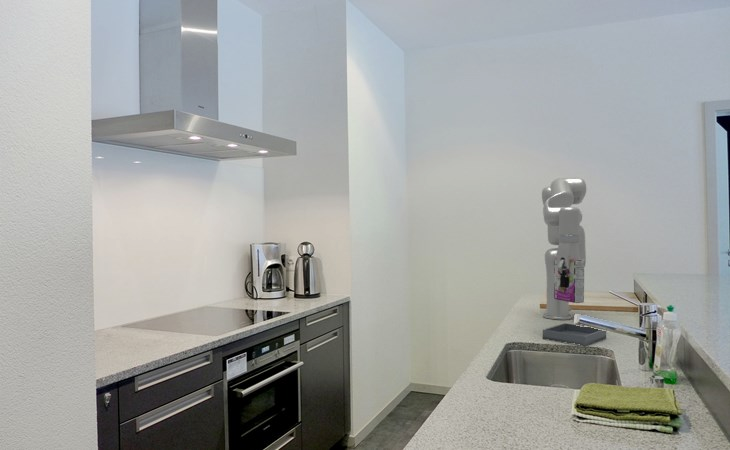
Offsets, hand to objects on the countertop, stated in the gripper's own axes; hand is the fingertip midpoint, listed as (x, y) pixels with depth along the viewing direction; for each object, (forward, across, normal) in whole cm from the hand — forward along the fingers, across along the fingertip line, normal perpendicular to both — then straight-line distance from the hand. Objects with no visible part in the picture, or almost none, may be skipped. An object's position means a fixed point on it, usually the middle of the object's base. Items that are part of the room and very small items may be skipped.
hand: (568, 286), depth 211 cm
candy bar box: (+6, 0, 0) cm, 6 cm away
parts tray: (+20, +1, +3) cm, 20 cm away
